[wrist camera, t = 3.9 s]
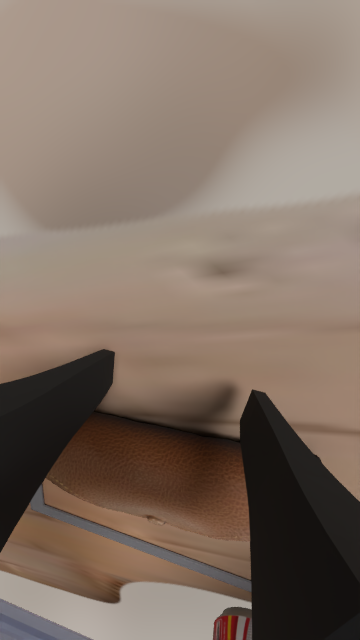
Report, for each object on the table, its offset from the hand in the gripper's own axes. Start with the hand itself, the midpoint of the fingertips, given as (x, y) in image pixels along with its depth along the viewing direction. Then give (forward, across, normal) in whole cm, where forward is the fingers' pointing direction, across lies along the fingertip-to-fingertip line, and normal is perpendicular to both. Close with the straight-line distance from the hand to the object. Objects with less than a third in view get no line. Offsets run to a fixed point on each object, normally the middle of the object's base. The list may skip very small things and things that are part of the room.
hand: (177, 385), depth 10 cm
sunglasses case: (+2, 0, +8) cm, 8 cm away
